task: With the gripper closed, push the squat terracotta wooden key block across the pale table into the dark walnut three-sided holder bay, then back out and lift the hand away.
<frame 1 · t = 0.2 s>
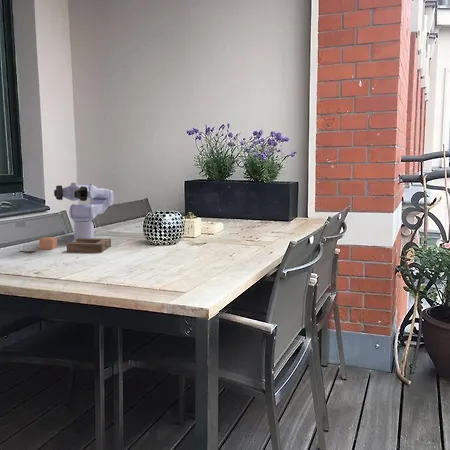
hand: (65, 193, 193), 21 cm above the table, tool horizontal, fingers open, 7 cm apart
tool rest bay: (89, 248, 197), on the table
key block: (48, 248, 198), on the table
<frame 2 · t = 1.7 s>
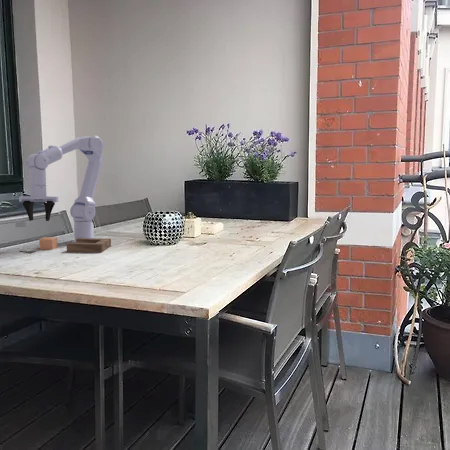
hand: (39, 220, 198), 10 cm above the table, tool pointing down, fingers open, 6 cm apart
nothing on the table moved.
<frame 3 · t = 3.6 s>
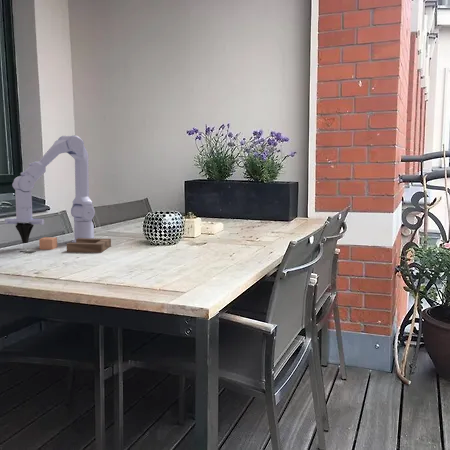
hand: (25, 242, 198), 2 cm above the table, tool pointing down, fingers closed
nothing on the table moved.
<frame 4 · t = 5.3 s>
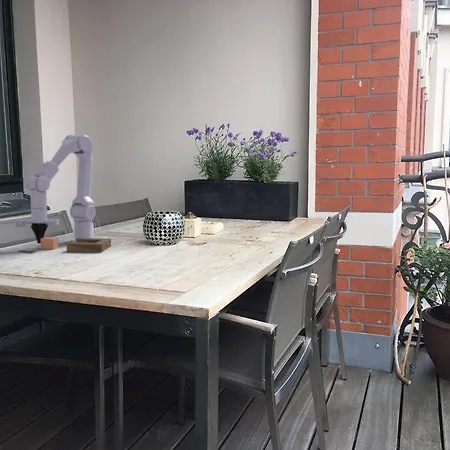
hand: (40, 243, 197), 2 cm above the table, tool pointing down, fingers closed
key block: (49, 248, 198), on the table, touching gripper
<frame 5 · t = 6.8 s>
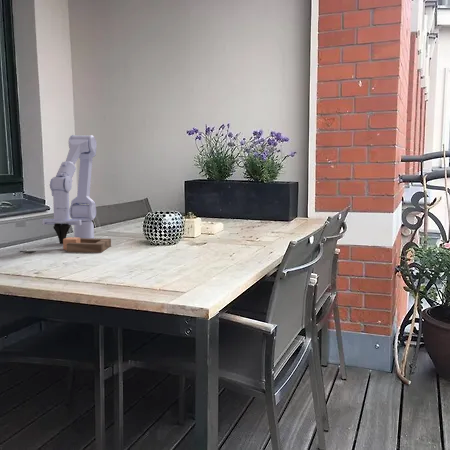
hand: (62, 243, 197), 2 cm above the table, tool pointing down, fingers closed
key block: (72, 248, 197), on the table, touching gripper
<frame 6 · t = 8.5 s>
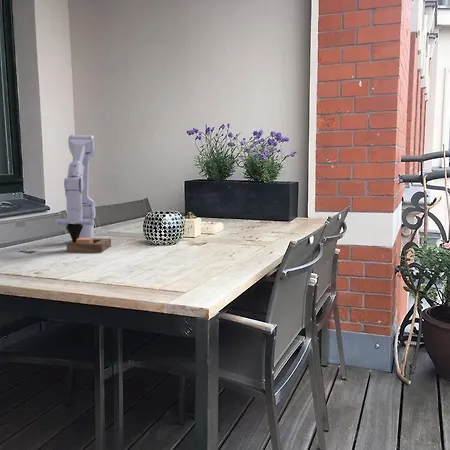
hand: (75, 243, 197), 2 cm above the table, tool pointing down, fingers closed
key block: (84, 248, 197), on the table, touching gripper
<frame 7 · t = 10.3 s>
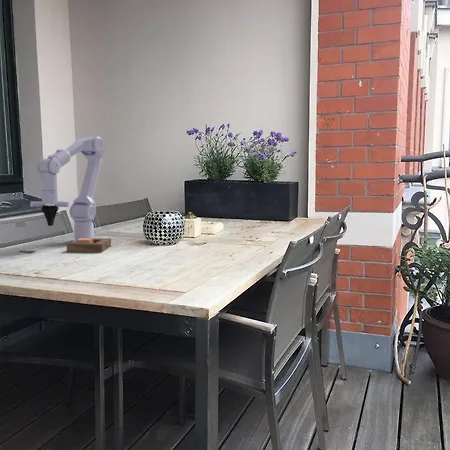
hand: (50, 225, 198), 9 cm above the table, tool pointing down, fingers closed
key block: (84, 249, 197), on the table
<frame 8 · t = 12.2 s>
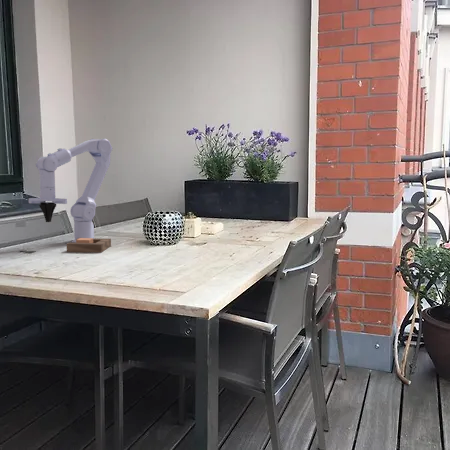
hand: (48, 221, 202), 9 cm above the table, tool pointing down, fingers closed
nothing on the table moved.
at the end: key block 0.8 cm from the target spot on the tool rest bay, point 0.0 cm above the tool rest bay's base; key block tilted 0°; key block moved 14.2 cm from its start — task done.
